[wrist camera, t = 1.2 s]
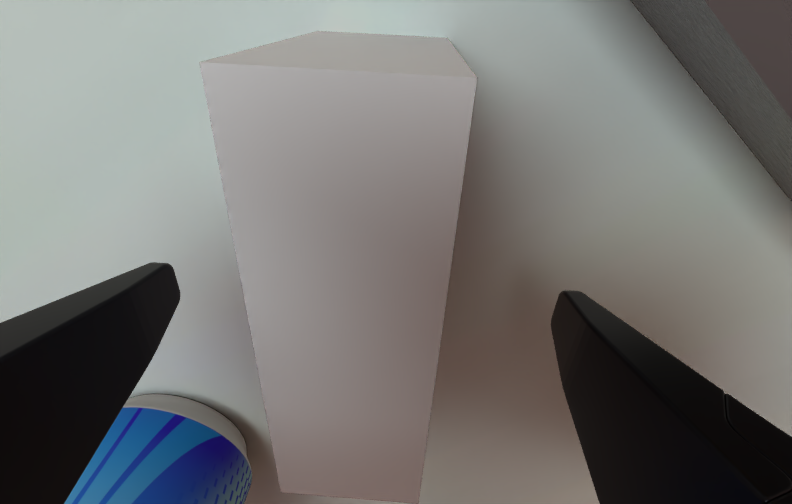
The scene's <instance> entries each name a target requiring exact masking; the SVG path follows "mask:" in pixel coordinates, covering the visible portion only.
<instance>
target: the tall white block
mask: <svg viewBox="0 0 792 504" xmlns="http://www.w3.org/2000/svg"><path fill="white" fill-rule="evenodd" d="M199 63H200V68H201V73H202V79H203V84H204V89H205V95H206V100H207V105H208V110H209V116H210V121H211V126H212V131H213V137H214V142H215V147H216V153H217V158H218V163H219V168H220V174H221V179H222V184H223V189H224V195H225V200H226V205H227V211H228V216H229V221H230V226H231V232H232V237H233V242H234V247H235V253H236V258H237V263H238V269H239V274H240V279H241V284H242V290H243V295H244V300H245V305H246V311H247V316H248V321H249V327H250V332H251V337H252V342H253V348H254V353H255V358H256V363H257V369H258V374H259V379H260V385H261V390H262V395H263V400H264V406H265V411H266V416H267V421H268V427H269V432H270V437H271V443H272V448H273V453H274V458H275V464H276V469H277V474H278V479H279V485H280V490H281V493H293V494H306V495H318V496H330V497H343V498H355V499H367V500H380V501H392V502H404V503H417V504H418V503H419V495H420V488H421V481H422V474H423V466H424V459H425V452H426V445H427V438H428V430H429V423H430V416H431V409H432V401H433V394H434V387H435V380H436V373H437V365H438V358H439V351H440V344H441V336H442V329H443V322H444V315H445V308H446V300H447V293H448V286H449V279H450V271H451V264H452V257H453V250H454V243H455V235H456V228H457V221H458V214H459V206H460V199H461V192H462V185H463V178H464V170H465V163H466V156H467V149H468V141H469V134H470V127H471V120H472V113H473V105H474V98H475V91H476V84H477V77H476V75H475V74H474V73H473V71H472V70H471V69H470V67H469V66H468V65H467V63H466V62H465V61H464V59H463V58H462V57H461V55H460V54H459V53H458V51H457V50H456V49H455V47H454V46H453V45H452V43H451V42H450V41H449V39H448V38H440V37H422V36H403V35H385V34H367V33H348V32H330V31H316V32H312V33H308V34H305V35H301V36H297V37H293V38H289V39H286V40H282V41H278V42H274V43H270V44H267V45H263V46H259V47H255V48H251V49H248V50H244V51H240V52H236V53H232V54H229V55H225V56H221V57H217V58H213V59H210V60H206V61H202V62H199Z"/></svg>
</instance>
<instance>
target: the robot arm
mask: <svg viewBox="0 0 792 504" xmlns="http://www.w3.org/2000/svg"><path fill="white" fill-rule="evenodd" d="M179 301H180V290H179V286H178V283H177V279H176V276H175V272H174V269H173V267H172V266H171V265H170V264H168V263H155V262H153V263H149V264H146V265H144V266H141V267H139V268H136V269H134V270H131V271H129V272H126V273H124V274H121V275H119V276H116V277H114V278H111V279H109V280H106V281H104V282H101V283H99V284H96V285H94V286H91V287H89V288H86V289H84V290H81V291H79V292H76V293H74V294H71V295H69V296H66V297H64V298H61V299H59V300H56V301H54V302H52V303H49V304H47V305H44V306H42V307H39V308H37V309H34V310H32V311H29V312H27V313H24V314H22V315H19V316H17V317H14V318H12V319H9V320H7V321H4V322H2V323H0V504H64V503H65V502H66V500H67V498H68V497H69V495H70V493H71V492H72V490H73V488H74V487H75V485H76V484H77V482H78V480H79V479H80V477H81V475H82V474H83V472H84V470H85V469H86V467H87V465H88V464H89V462H90V460H91V459H92V457H93V456H94V454H95V452H96V451H97V449H98V447H99V446H100V444H101V442H102V441H103V439H104V437H105V436H106V434H107V433H108V431H109V429H110V428H111V426H112V424H113V423H114V421H115V419H116V418H117V416H118V414H119V413H120V411H121V409H122V408H123V406H124V405H125V403H126V401H127V400H128V398H129V396H130V395H131V393H132V391H133V390H134V388H135V386H136V385H137V383H138V382H139V380H140V378H141V377H142V375H143V373H144V372H145V370H146V368H147V367H148V365H149V363H150V361H151V360H152V358H153V356H154V354H155V352H156V350H157V348H158V346H159V344H160V342H161V340H162V338H163V336H164V333H165V331H166V329H167V327H168V325H169V323H170V321H171V318H172V316H173V314H174V312H175V310H176V308H177V306H178V303H179ZM551 329H552V334H553V340H554V345H555V350H556V355H557V361H558V366H559V371H560V376H561V381H562V386H563V389H564V393H565V396H566V400H567V403H568V406H569V409H570V412H571V415H572V418H573V421H574V425H575V428H576V431H577V434H578V437H579V440H580V443H581V447H582V450H583V453H584V456H585V459H586V462H587V465H588V469H589V472H590V475H591V478H592V481H593V484H594V487H595V490H596V494H597V497H598V500H599V503H600V504H792V437H791V436H790V435H788V434H786V433H785V432H783V431H782V430H780V429H779V428H777V427H776V426H774V425H773V424H771V423H770V422H768V421H767V420H765V419H764V418H762V417H761V416H759V415H758V414H756V413H755V412H753V411H752V410H750V409H749V408H747V407H746V406H745V405H743V404H742V403H740V402H739V401H738V400H736V399H735V398H733V397H732V396H730V395H729V394H724V391H723V390H722V389H720V388H719V387H717V386H716V385H714V384H713V383H712V382H710V381H709V380H707V379H706V378H704V377H703V376H701V375H700V374H699V373H697V372H696V371H694V370H693V369H691V368H690V367H688V366H687V365H686V364H684V363H683V362H681V361H680V360H678V359H677V358H676V357H674V356H673V355H671V354H670V353H668V352H667V351H665V350H664V349H663V348H661V347H660V346H658V345H657V344H655V343H654V342H653V341H651V340H650V339H648V338H647V337H645V336H644V335H642V334H641V333H640V332H638V331H637V330H635V329H634V328H632V327H631V326H629V325H628V324H627V323H625V322H624V321H622V320H621V319H619V318H618V317H617V316H615V315H614V314H612V313H611V312H609V311H608V310H606V309H605V308H604V307H602V306H601V305H599V304H598V303H596V302H595V301H594V300H592V299H591V298H589V297H588V296H586V295H585V294H583V293H582V292H579V291H566V290H564V291H562V292H561V293H560V294H559V297H558V300H557V303H556V306H555V309H554V312H553V316H552V319H551Z"/></svg>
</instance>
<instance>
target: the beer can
mask: <svg viewBox="0 0 792 504" xmlns="http://www.w3.org/2000/svg"><path fill="white" fill-rule="evenodd" d="M246 455H247V448H246V443H245V440H244V438H243V436H242V434H241V433H240V431H239V430H238V429H237V427H236V426H235V425H234V424H233V423H232V422H231V421H230V420H228V419H227V418H226V417H225V416H223V415H222V414H220V413H219V412H217V411H215V410H214V409H212V408H210V407H208V406H206V405H204V404H201V403H199V402H196V401H193V400H190V399H187V398H183V397H179V396H173V395H165V394H147V395H140V396H136V397H133V398H130V399H128V400H127V401H126V403H125V405H124V406H123V408H122V409H121V411H120V413H119V414H118V416H117V418H116V419H115V421H114V423H113V424H112V426H111V428H110V429H109V431H108V433H107V434H106V436H105V437H104V439H103V441H102V442H101V444H100V446H99V447H98V449H97V451H96V452H95V454H94V456H93V457H92V459H91V460H90V462H89V464H88V465H87V467H86V469H85V470H84V472H83V474H82V475H81V477H80V479H79V480H78V482H77V484H76V485H75V487H74V488H73V490H72V492H71V493H70V495H69V497H68V498H67V500H66V502H65V503H64V504H244V502H245V499H246V497H247V494H248V491H249V488H250V485H251V481H252V469H251V465H250V462H249V460H248V458H247V456H246Z"/></svg>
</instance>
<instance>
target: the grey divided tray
mask: <svg viewBox="0 0 792 504" xmlns="http://www.w3.org/2000/svg"><path fill="white" fill-rule="evenodd" d="M631 1H632V2H633V3H634V5H635V6H636V7H637V8H638V10H639V11H640V12H641V13H642V15H643V16H644V17H645V18H646V20H647V21H648V22H649V23H650V25H651V26H652V27H653V28H654V30H655V31H656V32H657V33H658V35H659V36H660V37H661V38H662V40H663V41H664V42H665V43H666V45H667V46H668V47H669V48H670V50H671V51H672V52H673V53H674V55H675V56H676V57H677V58H678V60H679V61H680V62H681V63H682V65H683V66H684V67H685V68H686V70H687V71H688V72H689V73H690V75H691V76H692V77H693V78H694V80H695V81H696V82H697V83H698V85H699V86H700V87H701V88H702V90H703V91H704V92H705V93H706V95H707V96H708V97H709V98H710V100H711V101H712V102H713V103H714V105H715V106H716V107H717V108H718V110H719V111H720V112H721V113H722V115H723V116H724V117H725V118H726V120H727V121H728V122H729V123H730V125H731V126H732V127H733V128H734V130H735V131H736V132H737V133H738V135H739V136H740V137H741V138H742V139H743V141H744V142H745V143H746V144H747V146H748V147H749V148H750V149H751V151H752V152H753V153H754V154H755V156H756V157H757V158H758V159H759V161H760V162H761V163H762V164H763V166H764V167H765V168H766V169H767V171H768V172H769V173H770V174H771V176H772V177H773V178H774V179H775V181H776V182H777V183H778V184H779V186H780V187H781V188H782V189H783V191H784V192H785V193H786V194H787V196H788V197H789V198H790V199H791V201H792V0H631Z"/></svg>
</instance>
